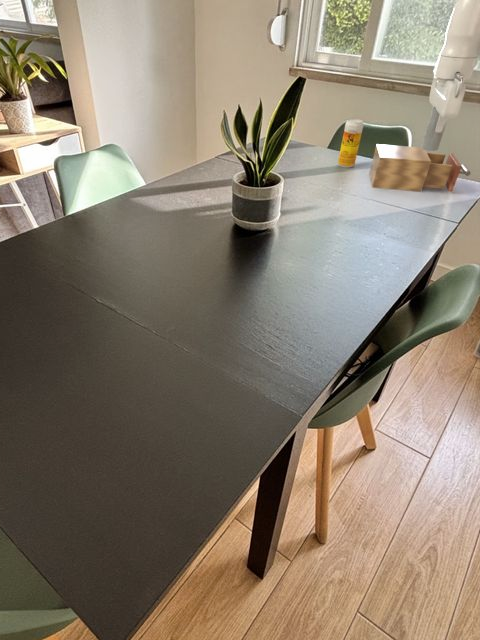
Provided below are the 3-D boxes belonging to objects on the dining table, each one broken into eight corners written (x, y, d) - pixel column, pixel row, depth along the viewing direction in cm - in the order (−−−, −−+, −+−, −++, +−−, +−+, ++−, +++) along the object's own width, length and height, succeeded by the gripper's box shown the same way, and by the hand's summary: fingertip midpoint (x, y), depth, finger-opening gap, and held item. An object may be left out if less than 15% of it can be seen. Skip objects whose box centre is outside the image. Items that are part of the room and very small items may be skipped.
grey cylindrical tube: (422, 145, 123) (434, 105, 116) (439, 147, 121) (452, 107, 115) (419, 149, 120) (431, 108, 113) (436, 152, 118) (449, 110, 112)
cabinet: (414, 176, 150) (424, 147, 144) (421, 191, 140) (431, 161, 133) (369, 172, 153) (376, 144, 146) (372, 187, 142) (379, 157, 136)
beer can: (337, 167, 156) (346, 122, 146) (337, 162, 161) (346, 118, 151) (354, 169, 155) (364, 123, 145) (354, 163, 160) (364, 119, 150)
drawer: (457, 178, 147) (466, 154, 142) (466, 192, 138) (476, 167, 132) (401, 173, 150) (408, 149, 145) (405, 187, 140) (413, 162, 135)
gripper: (478, 76, 100) (456, 140, 109) (458, 63, 115) (440, 120, 124) (449, 75, 101) (430, 138, 110) (433, 63, 116) (417, 119, 125)
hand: (435, 128), depth 117 cm, fingers closed on grey cylindrical tube, 4 cm apart
